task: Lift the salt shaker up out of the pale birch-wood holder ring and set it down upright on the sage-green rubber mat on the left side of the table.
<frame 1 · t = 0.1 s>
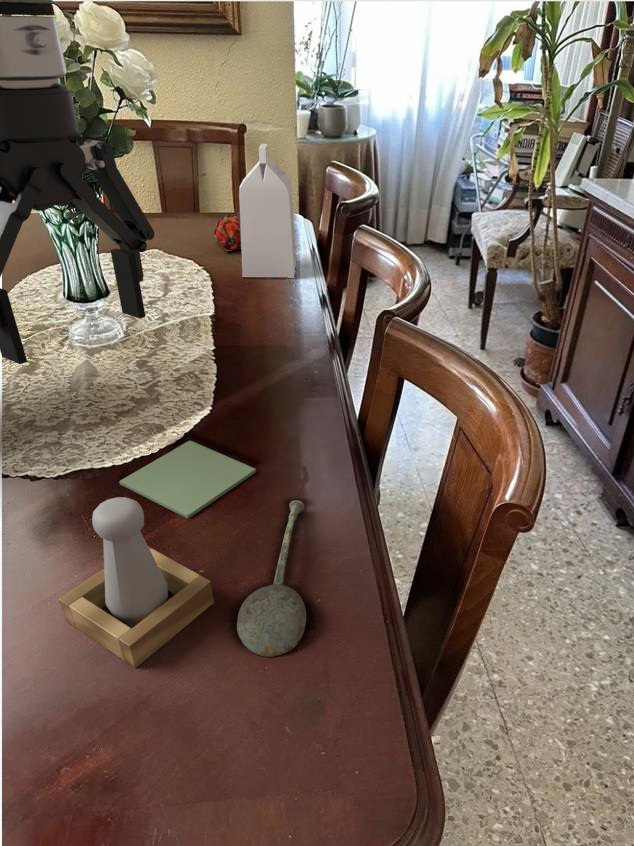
hand: (78, 335, 64), 22 cm above the table, tool pointing down, fingers open, 13 cm apart
soupspoon: (284, 576, 70), on the table
salt shaker: (141, 613, 65), resting in holder
mat: (189, 478, 84), on the table
dragon fruit: (233, 250, 165), on the table
milk: (270, 271, 153), on the table
holder: (141, 611, 65), on the table
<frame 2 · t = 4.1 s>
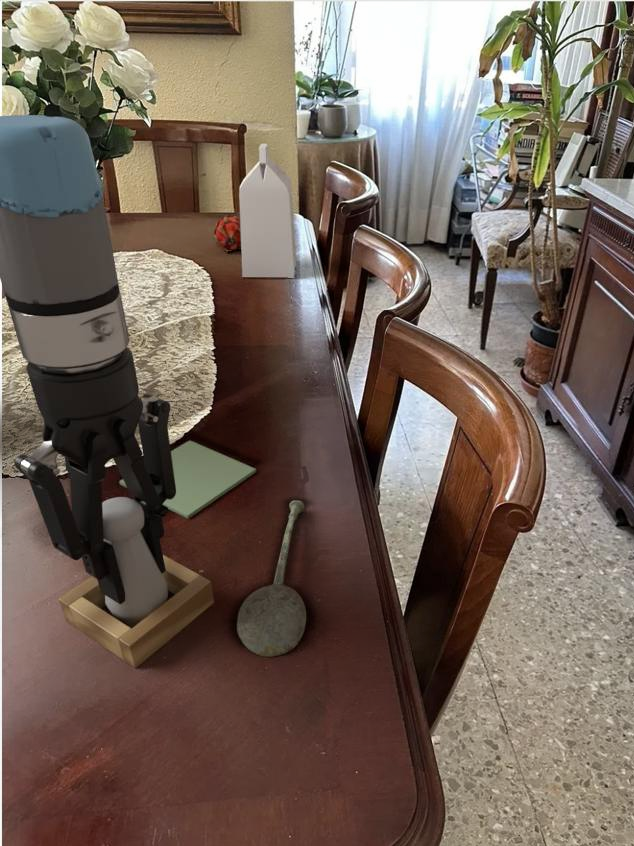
hand: (133, 581, 63), 4 cm above the table, tool pointing down, fingers closed on salt shaker, 4 cm apart
salt shaker: (141, 613, 65), resting in holder, touching gripper
everything else where it was.
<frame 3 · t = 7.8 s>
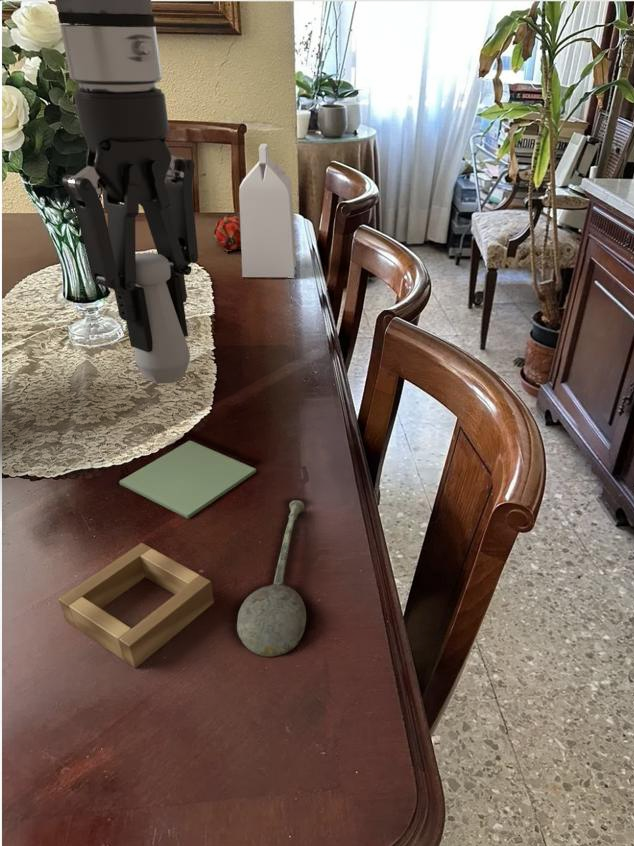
hand: (159, 340, 70), 20 cm above the table, tool pointing down, fingers closed on salt shaker, 4 cm apart
salt shaker: (165, 377, 73), point 15 cm above the table, touching gripper
everything else where it was.
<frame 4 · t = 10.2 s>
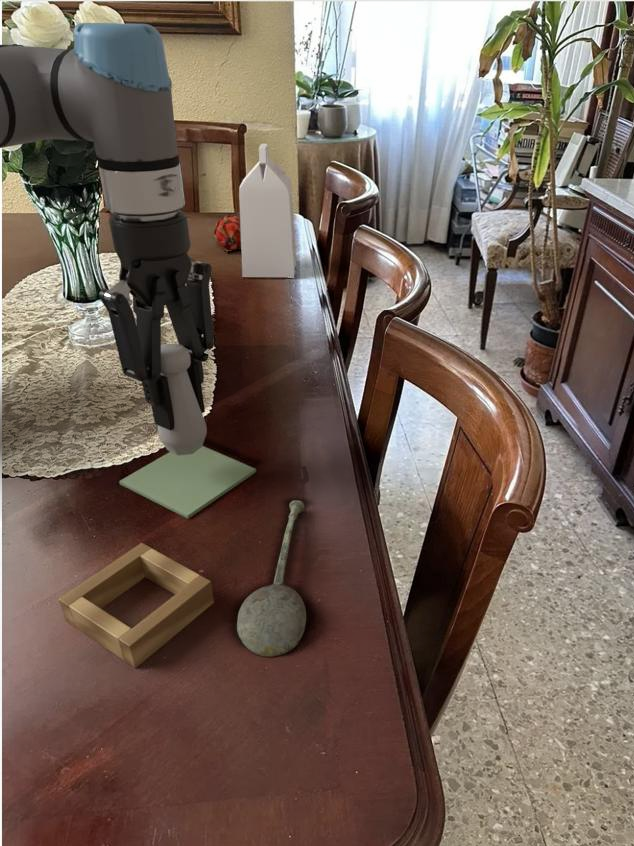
hand: (180, 417, 79), 9 cm above the table, tool pointing down, fingers closed on salt shaker, 4 cm apart
salt shaker: (185, 448, 81), point 5 cm above the table, touching gripper
everything else where it was.
when the fingers open (5 cm above the table, at t = 11.6 s): salt shaker stays where it is, resting on mat.
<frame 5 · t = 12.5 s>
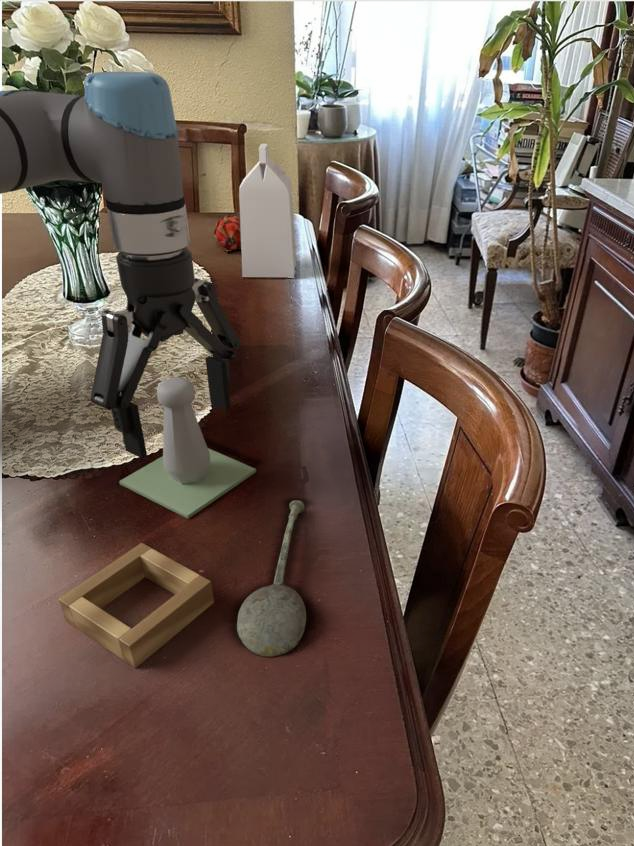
hand: (181, 428, 80), 7 cm above the table, tool pointing down, fingers open, 13 cm apart
salt shaker: (189, 476, 84), resting on mat
everything else where it was.
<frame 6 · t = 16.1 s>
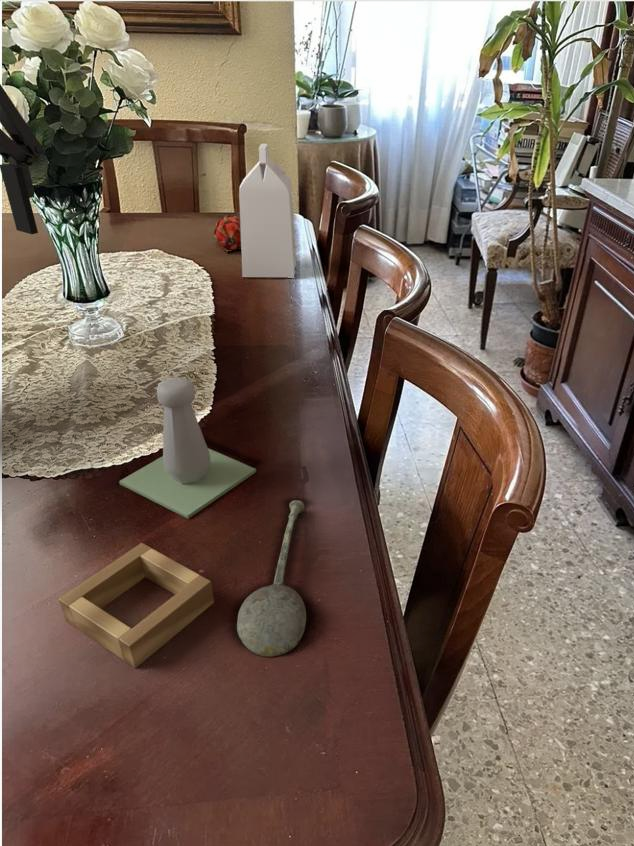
nothing on the table moved.
at the end: salt shaker inside the target area on the mat (0.1 cm from its centre), point 0.3 cm above the mat's base; salt shaker tilted 0°; the gripper is holding nothing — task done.
